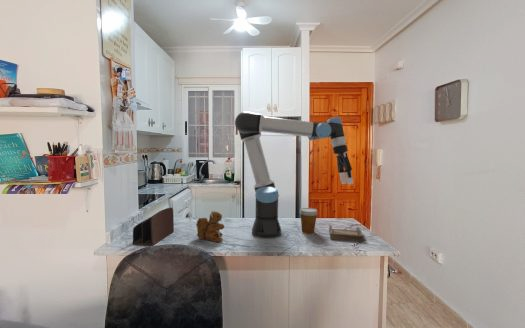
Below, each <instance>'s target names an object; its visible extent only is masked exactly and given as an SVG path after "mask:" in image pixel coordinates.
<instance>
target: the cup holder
mask: <svg viewBox="0 0 525 328" xmlns="http://www.w3.org/2000/svg"><path fill="white" fill-rule="evenodd" d="M328 231H329V236H330V237H329V238H330V240H336V241H337V240H340V241H352V242H364V239H365V238H364V234H363V233H362V230H361V228H360V227H356V229H355V230H354V229H344V228H343V229H341V228H333V227H332V225H329V226H328Z"/></svg>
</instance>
